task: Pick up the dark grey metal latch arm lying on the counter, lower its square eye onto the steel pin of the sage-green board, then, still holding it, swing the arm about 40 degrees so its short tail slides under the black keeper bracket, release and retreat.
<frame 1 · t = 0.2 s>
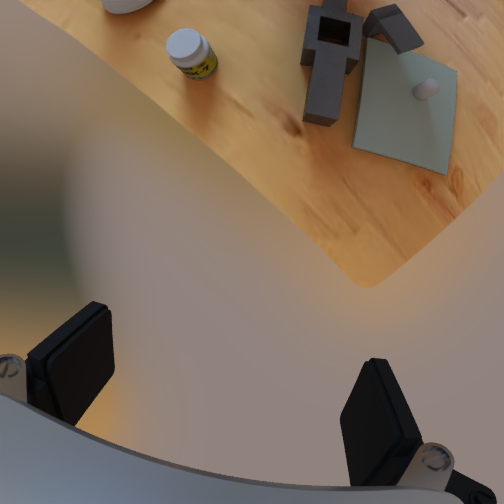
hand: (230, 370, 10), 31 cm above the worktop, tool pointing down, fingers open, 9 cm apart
supplement bottle: (201, 65, 35), on the worktop
link: (315, 123, 36), on the worktop
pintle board: (408, 105, 33), on the worktop
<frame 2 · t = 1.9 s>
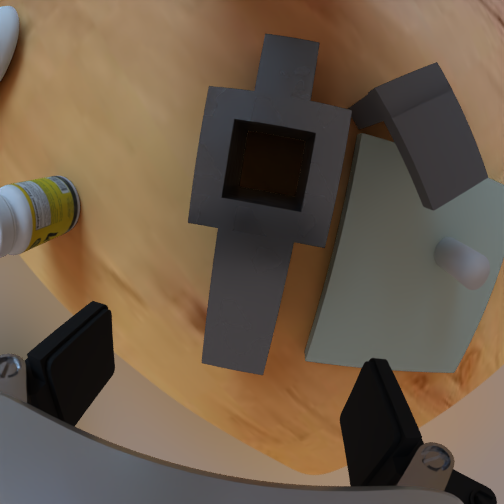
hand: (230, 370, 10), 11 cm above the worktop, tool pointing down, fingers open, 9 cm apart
supplement bottle: (61, 204, 21), on the worktop
link: (244, 318, 22), on the worktop
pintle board: (420, 271, 20), on the worktop
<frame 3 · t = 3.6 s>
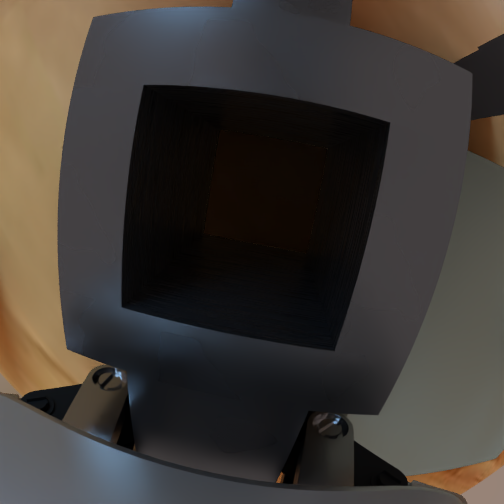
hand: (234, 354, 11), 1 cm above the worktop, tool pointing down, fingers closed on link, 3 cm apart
link: (221, 427, 13), on the worktop, touching gripper
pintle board: (485, 354, 11), on the worktop
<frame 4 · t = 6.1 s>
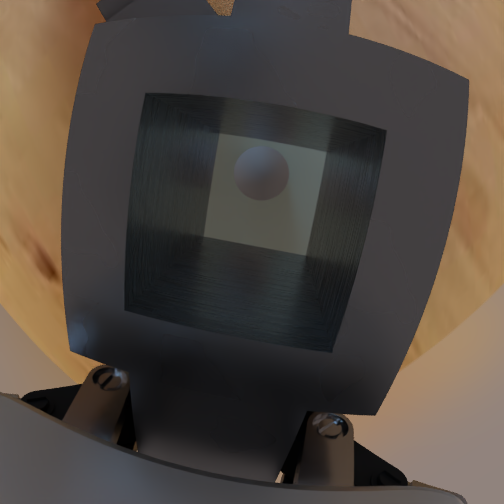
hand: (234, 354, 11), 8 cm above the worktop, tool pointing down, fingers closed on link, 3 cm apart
link: (221, 427, 13), point 8 cm above the worktop, touching gripper
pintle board: (242, 201, 18), on the worktop
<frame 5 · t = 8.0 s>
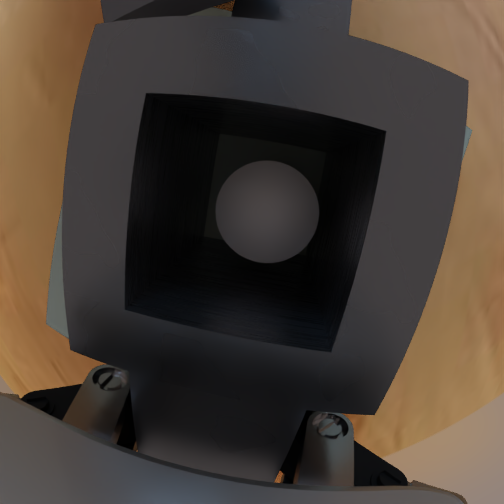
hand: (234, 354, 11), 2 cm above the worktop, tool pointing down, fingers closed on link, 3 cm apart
link: (221, 426, 13), point 1 cm above the worktop, touching gripper
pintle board: (228, 231, 12), on the worktop
when the fingers open (2 cm above the worktop, at t = 8.9 s): link stays where it is, resting on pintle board.
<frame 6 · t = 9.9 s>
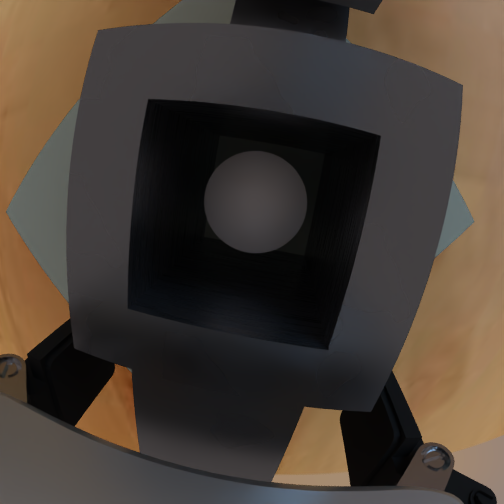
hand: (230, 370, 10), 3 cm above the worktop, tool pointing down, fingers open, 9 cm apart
link: (221, 425, 13), point 1 cm above the worktop, touching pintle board
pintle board: (209, 202, 12), on the worktop
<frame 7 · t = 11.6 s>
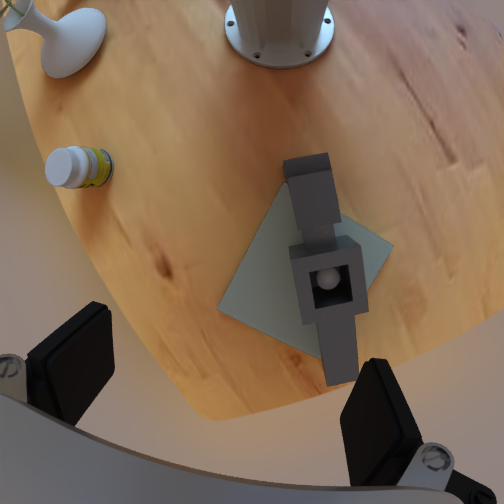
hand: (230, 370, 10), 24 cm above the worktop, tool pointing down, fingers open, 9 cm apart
flower in vase: (79, 41, 30), on the worktop
supplement bottle: (99, 168, 34), on the worktop
link: (335, 354, 35), point 1 cm above the worktop, touching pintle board
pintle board: (304, 275, 34), on the worktop
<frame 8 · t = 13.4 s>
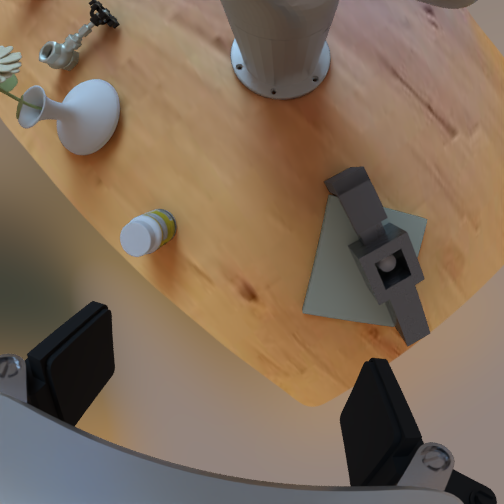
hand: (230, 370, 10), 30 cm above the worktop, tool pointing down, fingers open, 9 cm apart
flower in vase: (92, 113, 37), on the worktop
supplement bottle: (161, 225, 41), on the worktop
link: (404, 319, 40), point 1 cm above the worktop, touching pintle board
valve: (88, 44, 34), on the worktop
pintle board: (365, 264, 40), on the worktop
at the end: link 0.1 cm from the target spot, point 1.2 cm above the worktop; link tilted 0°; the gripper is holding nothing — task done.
